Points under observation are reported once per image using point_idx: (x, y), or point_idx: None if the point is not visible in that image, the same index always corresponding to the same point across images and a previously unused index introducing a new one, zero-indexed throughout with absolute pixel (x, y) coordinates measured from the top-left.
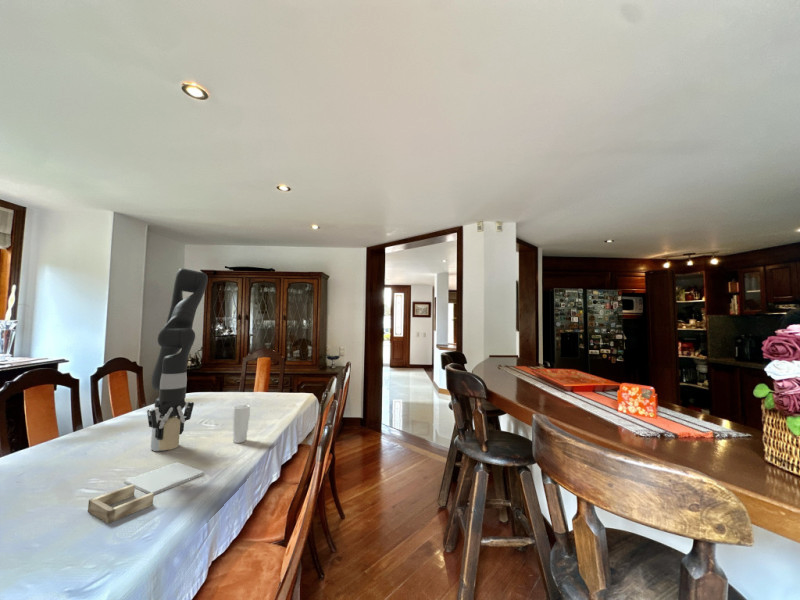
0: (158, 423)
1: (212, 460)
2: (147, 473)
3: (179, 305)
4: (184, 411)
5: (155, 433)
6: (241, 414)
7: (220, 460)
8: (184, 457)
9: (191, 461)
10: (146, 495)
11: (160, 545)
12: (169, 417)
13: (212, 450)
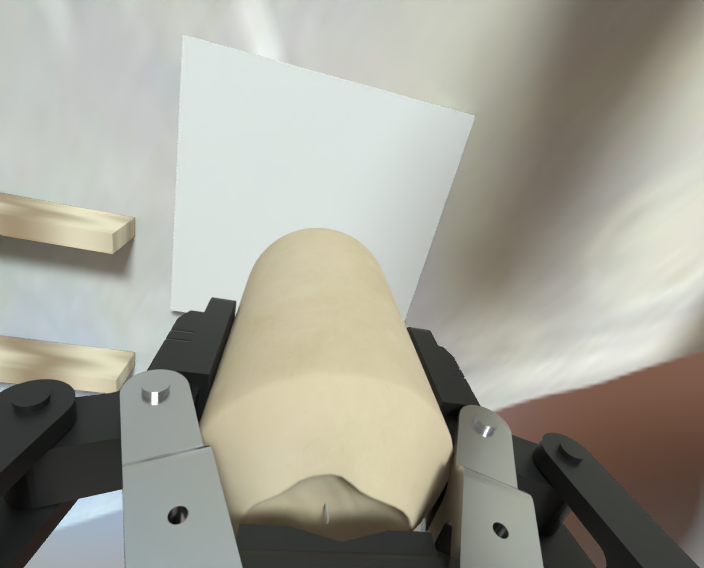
0: (154, 434)
1: (539, 259)
2: (300, 88)
3: None
4: (625, 554)
5: (165, 342)
6: None
7: (541, 293)
8: (574, 64)
9: (518, 164)
10: (91, 384)
11: None
12: (355, 479)
13: (681, 149)
